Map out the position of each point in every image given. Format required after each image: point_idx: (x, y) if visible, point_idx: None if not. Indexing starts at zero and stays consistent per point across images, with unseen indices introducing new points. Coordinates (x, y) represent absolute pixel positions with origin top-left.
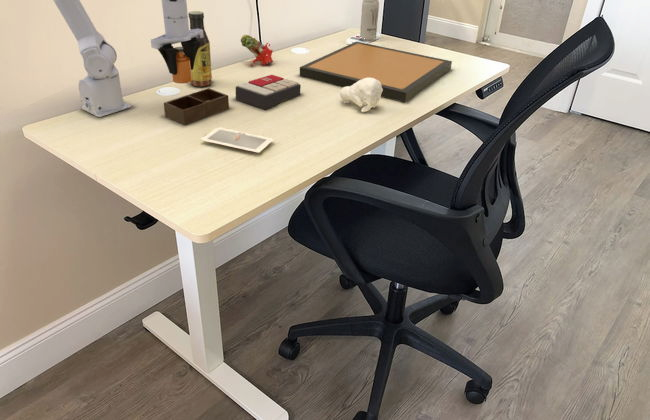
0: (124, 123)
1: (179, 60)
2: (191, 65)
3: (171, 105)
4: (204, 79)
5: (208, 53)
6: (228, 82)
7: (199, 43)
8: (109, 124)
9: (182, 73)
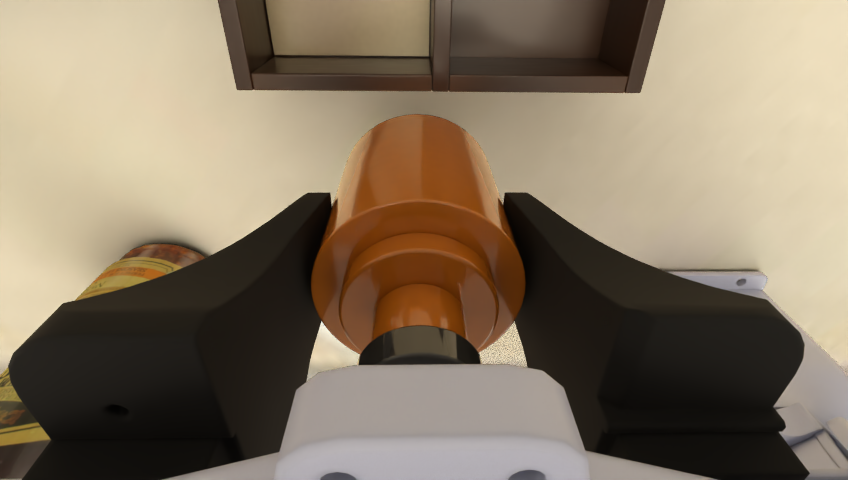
0: (775, 152)
1: (476, 257)
2: (321, 208)
3: (657, 6)
4: (161, 265)
5: (5, 381)
6: (25, 213)
7: (64, 315)
8: (811, 190)
9: (471, 159)
